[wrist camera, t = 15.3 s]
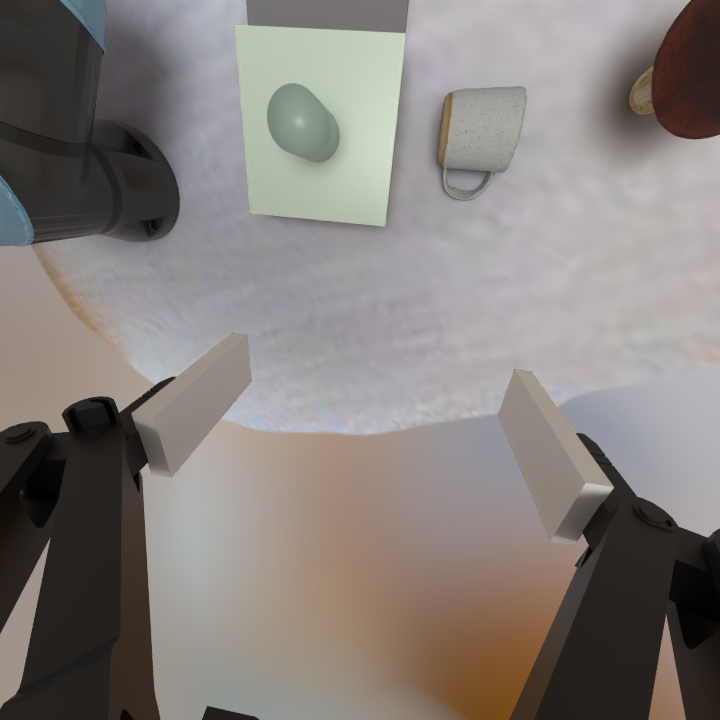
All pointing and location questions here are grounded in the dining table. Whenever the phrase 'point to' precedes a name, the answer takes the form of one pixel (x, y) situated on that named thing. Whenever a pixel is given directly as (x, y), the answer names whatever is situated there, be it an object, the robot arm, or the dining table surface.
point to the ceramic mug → (480, 132)
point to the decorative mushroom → (685, 75)
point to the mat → (330, 14)
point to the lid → (319, 120)
